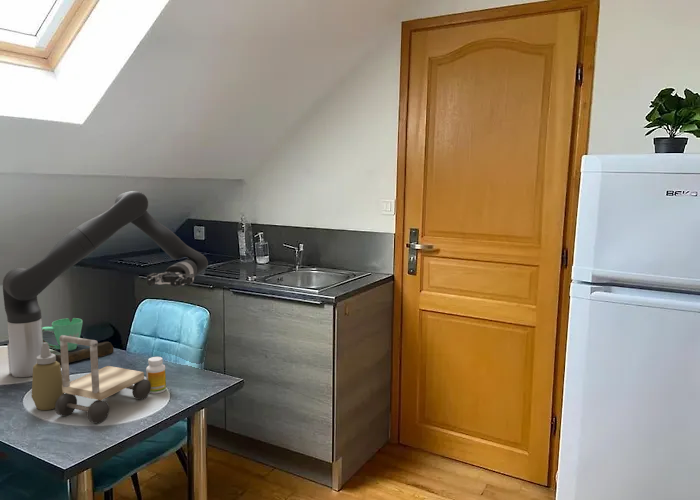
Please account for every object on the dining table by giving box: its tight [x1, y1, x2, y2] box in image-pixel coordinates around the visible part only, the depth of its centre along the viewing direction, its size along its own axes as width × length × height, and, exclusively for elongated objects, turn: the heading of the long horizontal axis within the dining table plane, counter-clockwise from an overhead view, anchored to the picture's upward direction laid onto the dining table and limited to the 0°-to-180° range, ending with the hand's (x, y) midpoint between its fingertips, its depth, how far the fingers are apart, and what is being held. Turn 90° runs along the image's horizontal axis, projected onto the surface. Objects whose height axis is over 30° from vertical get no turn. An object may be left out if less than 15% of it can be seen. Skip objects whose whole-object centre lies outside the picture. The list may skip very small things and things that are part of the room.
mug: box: [42, 317, 83, 352], centre depth 199 cm, size 15×10×10 cm
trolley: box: [54, 335, 151, 424], centre depth 153 cm, size 13×22×22 cm, turn 159°
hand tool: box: [55, 341, 114, 367], centre depth 191 cm, size 19×4×5 cm, turn 136°
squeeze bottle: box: [31, 341, 65, 411], centre depth 153 cm, size 8×8×18 cm
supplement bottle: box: [145, 356, 167, 394], centre depth 165 cm, size 5×5×10 cm
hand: (163, 283), depth 177 cm, fingers open, 8 cm apart
